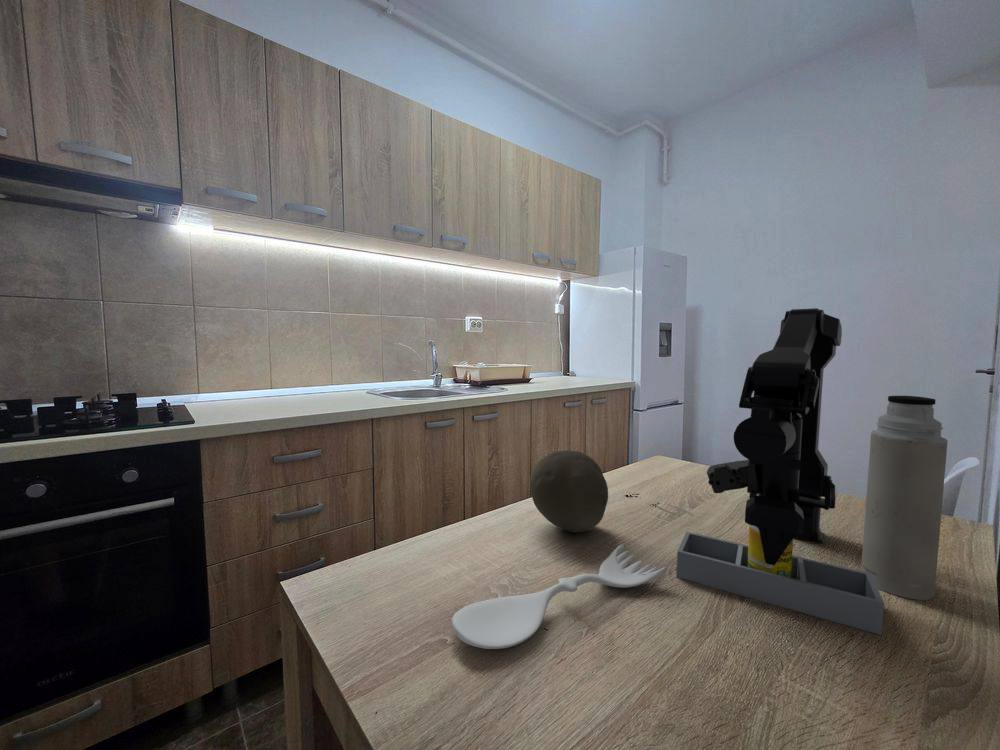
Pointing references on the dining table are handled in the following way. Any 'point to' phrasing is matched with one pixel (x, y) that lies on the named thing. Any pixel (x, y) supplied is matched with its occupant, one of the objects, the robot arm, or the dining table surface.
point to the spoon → (539, 604)
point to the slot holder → (784, 582)
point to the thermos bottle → (905, 498)
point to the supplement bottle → (758, 560)
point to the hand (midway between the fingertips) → (770, 555)
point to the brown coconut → (569, 490)
